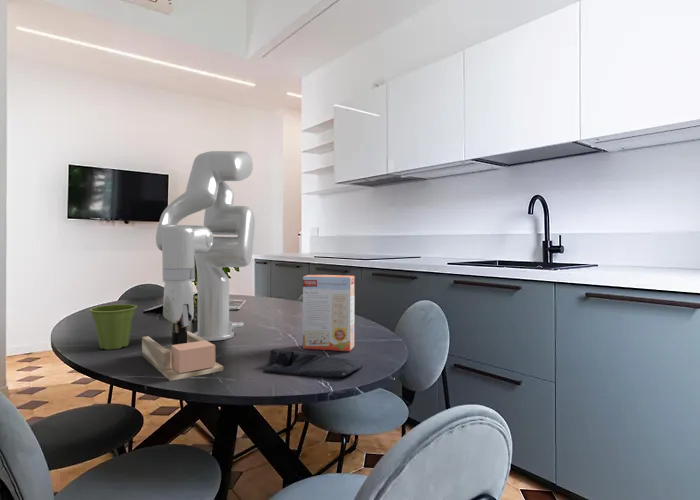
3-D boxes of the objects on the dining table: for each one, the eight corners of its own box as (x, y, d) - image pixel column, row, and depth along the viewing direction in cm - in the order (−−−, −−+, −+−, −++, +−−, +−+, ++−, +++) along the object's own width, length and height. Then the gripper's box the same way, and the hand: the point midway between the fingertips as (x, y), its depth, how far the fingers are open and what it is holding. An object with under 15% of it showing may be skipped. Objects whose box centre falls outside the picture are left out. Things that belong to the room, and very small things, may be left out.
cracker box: (354, 347, 123) (355, 275, 122) (350, 352, 117) (350, 276, 116) (308, 344, 126) (309, 273, 125) (301, 349, 120) (302, 275, 119)
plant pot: (83, 346, 120) (83, 307, 120) (128, 339, 129) (128, 303, 129) (97, 354, 112) (97, 312, 112) (143, 346, 121) (143, 307, 121)
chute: (188, 348, 119) (188, 331, 119) (223, 370, 100) (223, 349, 100) (142, 355, 112) (142, 337, 112) (170, 380, 92) (170, 358, 92)
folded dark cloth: (344, 386, 91) (344, 364, 91) (257, 373, 99) (257, 353, 99) (367, 366, 105) (367, 347, 105) (290, 357, 114) (290, 339, 114)
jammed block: (205, 360, 103) (205, 340, 103) (215, 366, 98) (215, 345, 98) (171, 366, 98) (171, 345, 98) (179, 373, 93) (179, 350, 93)
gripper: (154, 273, 110) (156, 343, 111) (172, 279, 98) (173, 357, 99) (184, 271, 115) (185, 338, 116) (204, 276, 103) (205, 351, 104)
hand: (179, 347), depth 107 cm, fingers closed
